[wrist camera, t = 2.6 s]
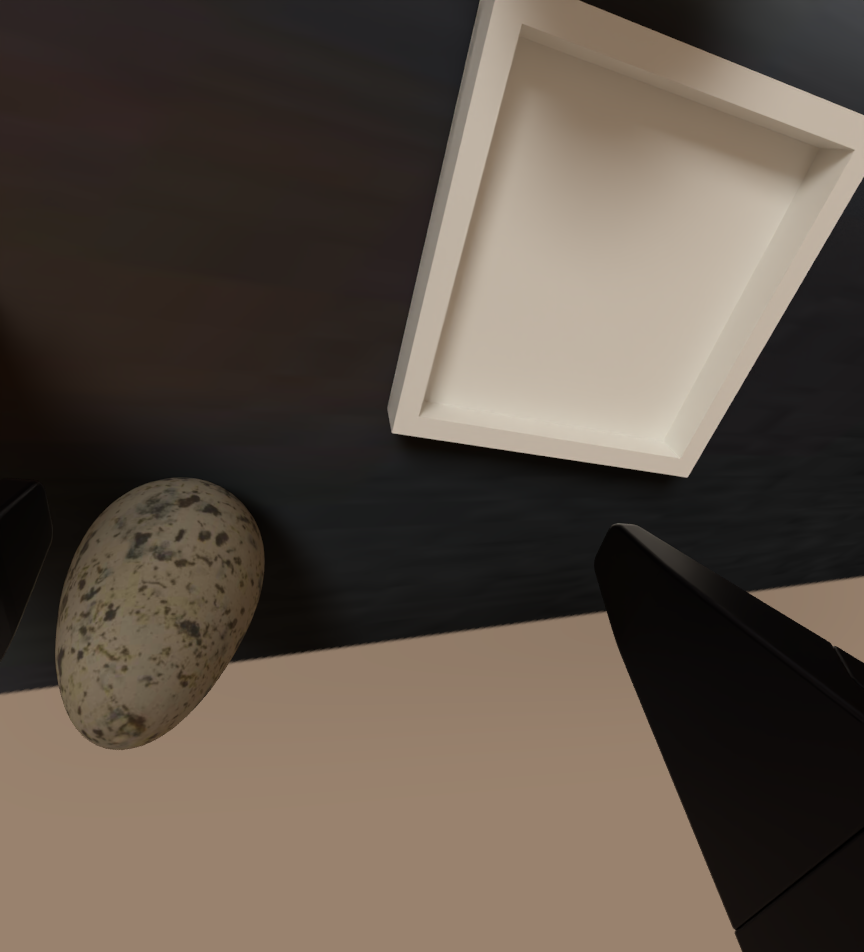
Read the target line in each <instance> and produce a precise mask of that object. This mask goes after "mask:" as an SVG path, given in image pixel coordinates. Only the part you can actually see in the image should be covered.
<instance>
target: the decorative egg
mask: <svg viewBox="0 0 864 952" xmlns="http://www.w3.org/2000/svg"><path fill="white" fill-rule="evenodd" d="M264 561H265V559H264V548H263V542H262V538H261V534H260V531H259V529H258V526H257V524H256V522H255V520H254V518H253V517H252V515H251V513H250V512H249V511H248V509H247V508H246V507H245V506H244V504H243V503H242V502H241V501H240V500H239V499H238V498H236V497H235V496H234V495H233V494H232V493H230V492H229V491H227V490H225V489H224V488H222V487H220V486H218V485H216V484H214V483H211V482H208V481H205V480H200V479H195V478H184V477H181V478H166V479H161V480H157V481H153V482H149V483H147V484H144V485H141V486H139V487H137V488H135V489H133V490H131V491H129V492H127V493H126V494H124V495H123V496H121V497H120V498H118V499H117V500H116V501H114V502H113V503H112V504H111V505H110V506H108V507H107V508H106V509H105V510H104V511H103V512H102V513H101V514H100V515H99V517H98V518H97V519H96V520H95V521H94V523H93V524H92V525H91V527H90V528H89V530H88V531H87V533H86V534H85V536H84V537H83V539H82V541H81V543H80V545H79V546H78V548H77V551H76V553H75V555H74V557H73V560H72V563H71V565H70V568H69V570H68V573H67V576H66V579H65V583H64V586H63V590H62V595H61V600H60V605H59V612H58V620H57V631H56V647H55V658H56V672H57V678H58V683H59V689H60V693H61V697H62V700H63V703H64V707H65V709H66V711H67V713H68V715H69V718H70V720H71V721H72V723H73V724H74V726H75V727H76V729H77V730H78V731H79V732H80V733H81V734H82V735H83V736H84V737H85V738H86V739H87V740H89V741H90V742H92V743H94V744H96V745H97V746H100V747H103V748H106V749H115V750H124V749H131V748H135V747H139V746H143V745H145V744H147V743H150V742H152V741H154V740H156V739H157V738H159V737H161V736H163V735H164V734H165V733H167V732H168V731H170V730H171V729H173V728H174V727H175V726H176V725H177V724H179V722H181V721H182V720H183V719H184V718H185V717H186V716H187V715H188V714H189V713H190V712H191V711H192V710H193V709H194V708H195V707H196V706H197V705H198V704H199V703H200V702H201V700H202V699H203V698H204V697H205V696H206V695H207V693H208V692H209V691H210V690H211V688H212V687H213V686H214V684H215V683H216V681H217V680H218V679H219V677H220V676H221V674H222V673H223V671H224V670H225V668H226V667H227V665H228V663H229V662H230V660H231V659H232V657H233V656H234V654H235V652H236V650H237V648H238V647H239V645H240V643H241V641H242V639H243V637H244V635H245V633H246V631H247V629H248V627H249V625H250V623H251V620H252V618H253V615H254V612H255V610H256V607H257V603H258V600H259V597H260V593H261V588H262V584H263V577H264Z"/></svg>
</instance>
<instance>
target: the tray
mask: <svg viewBox="0 0 864 952" xmlns="http://www.w3.org/2000/svg"><path fill="white" fill-rule="evenodd" d="M863 177H864V115H861V114H859V113H856V112H854V111H852V110H849V109H847V108H844V107H842V106H839V105H837V104H834V103H832V102H829V101H827V100H824V99H822V98H819V97H817V96H814V95H812V94H809V93H807V92H805V91H802V90H800V89H797V88H795V87H792V86H790V85H787V84H785V83H782V82H780V81H777V80H775V79H772V78H770V77H767V76H765V75H762V74H760V73H757V72H755V71H753V70H750V69H748V68H745V67H743V66H740V65H738V64H735V63H733V62H730V61H728V60H725V59H723V58H720V57H718V56H715V55H713V54H710V53H708V52H706V51H703V50H701V49H698V48H696V47H693V46H691V45H688V44H686V43H683V42H681V41H678V40H676V39H673V38H671V37H668V36H666V35H663V34H661V33H659V32H656V31H654V30H651V29H649V28H646V27H644V26H641V25H639V24H636V23H634V22H631V21H629V20H626V19H624V18H621V17H619V16H616V15H614V14H611V13H609V12H607V11H604V10H602V9H599V8H597V7H594V6H592V5H589V4H587V3H584V2H582V1H579V0H480V2H479V6H478V11H477V15H476V19H475V24H474V28H473V33H472V37H471V41H470V46H469V50H468V55H467V59H466V64H465V68H464V72H463V77H462V81H461V86H460V90H459V94H458V99H457V103H456V108H455V112H454V116H453V121H452V125H451V130H450V134H449V138H448V143H447V147H446V152H445V156H444V160H443V165H442V169H441V174H440V178H439V182H438V187H437V191H436V196H435V200H434V204H433V209H432V213H431V218H430V222H429V226H428V231H427V235H426V240H425V244H424V248H423V253H422V257H421V262H420V266H419V270H418V275H417V279H416V284H415V288H414V293H413V297H412V301H411V306H410V310H409V315H408V319H407V323H406V328H405V332H404V337H403V341H402V345H401V350H400V354H399V359H398V363H397V367H396V372H395V376H394V381H393V385H392V389H391V394H390V398H389V403H388V407H387V410H388V415H389V420H390V426H391V431H392V433H395V434H402V435H408V436H415V437H422V438H428V439H435V440H442V441H448V442H455V443H461V444H468V445H475V446H481V447H488V448H495V449H501V450H508V451H515V452H521V453H528V454H535V455H541V456H548V457H555V458H561V459H568V460H575V461H581V462H588V463H595V464H601V465H608V466H614V467H621V468H628V469H634V470H641V471H648V472H654V473H661V474H668V475H674V476H681V477H688V476H689V474H690V472H691V471H692V469H693V467H694V465H695V464H696V462H697V460H698V459H699V457H700V455H701V453H702V452H703V450H704V448H705V447H706V445H707V443H708V442H709V440H710V438H711V436H712V435H713V433H714V431H715V430H716V428H717V426H718V424H719V423H720V421H721V419H722V418H723V416H724V414H725V412H726V411H727V409H728V407H729V406H730V404H731V402H732V401H733V399H734V397H735V395H736V394H737V392H738V390H739V389H740V387H741V385H742V383H743V382H744V380H745V378H746V377H747V375H748V373H749V371H750V370H751V368H752V366H753V365H754V363H755V361H756V360H757V358H758V356H759V354H760V353H761V351H762V349H763V348H764V346H765V344H766V342H767V341H768V339H769V337H770V336H771V334H772V332H773V330H774V329H775V327H776V325H777V324H778V322H779V320H780V319H781V317H782V315H783V313H784V312H785V310H786V308H787V307H788V305H789V303H790V301H791V300H792V298H793V296H794V295H795V293H796V291H797V289H798V288H799V286H800V284H801V283H802V281H803V279H804V278H805V276H806V274H807V272H808V271H809V269H810V267H811V266H812V264H813V262H814V260H815V259H816V257H817V255H818V254H819V252H820V250H821V248H822V247H823V245H824V243H825V242H826V240H827V238H828V237H829V235H830V233H831V231H832V230H833V228H834V226H835V225H836V223H837V221H838V219H839V218H840V216H841V214H842V213H843V211H844V209H845V208H846V206H847V204H848V202H849V201H850V199H851V197H852V196H853V194H854V192H855V190H856V189H857V187H858V185H859V184H860V182H861V180H862V178H863Z"/></svg>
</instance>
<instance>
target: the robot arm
mask: <svg viewBox="0 0 864 952" xmlns="http://www.w3.org/2000/svg"><path fill="white" fill-rule="evenodd" d="M52 536H53V527H52V521H51V516H50V511H49V506H48V501H47V496H46V491H45V488H44V486H43V484H42V483H40V482H39V481H36V480H26V479H12V478H7V479H2V480H0V662H1V660H2V659H3V657H4V655H5V653H6V651H7V649H8V647H9V645H10V643H11V641H12V639H13V637H14V635H15V632H16V630H17V628H18V625H19V623H20V621H21V618H22V616H23V613H24V611H25V608H26V606H27V603H28V600H29V598H30V595H31V593H32V590H33V588H34V585H35V583H36V580H37V578H38V575H39V573H40V570H41V568H42V565H43V563H44V560H45V557H46V555H47V552H48V550H49V547H50V545H51V541H52ZM594 568H595V573H596V577H597V580H598V583H599V587H600V590H601V594H602V597H603V600H604V604H605V607H606V610H607V614H608V617H609V620H610V624H611V627H612V630H613V634H614V637H615V640H616V643H617V646H618V648H619V651H620V654H621V656H622V659H623V661H624V663H625V665H626V668H627V671H628V673H629V676H630V678H631V681H632V683H633V686H634V688H635V690H636V693H637V695H638V697H639V700H640V703H641V705H642V708H643V710H644V712H645V715H646V717H647V720H648V722H649V725H650V727H651V729H652V732H653V734H654V737H655V739H656V742H657V744H658V747H659V749H660V751H661V754H662V756H663V759H664V761H665V764H666V766H667V768H668V771H669V773H670V776H671V778H672V780H673V783H674V786H675V788H676V790H677V793H678V795H679V798H680V800H681V802H682V805H683V807H684V810H685V812H686V814H687V817H688V820H689V822H690V824H691V827H692V829H693V832H694V834H695V837H696V839H697V841H698V844H699V846H700V849H701V851H702V854H703V856H704V859H705V861H706V863H707V866H708V868H709V871H710V873H711V876H712V878H713V880H714V883H715V885H716V888H717V890H718V893H719V895H720V898H721V900H722V902H723V905H724V907H725V910H726V912H727V915H728V917H729V920H730V922H731V924H732V927H733V928H734V929H735V930H736V931H735V935H736V938H737V940H738V943H739V945H740V947H741V950H742V952H864V663H863V662H861V661H859V660H858V659H856V658H854V657H853V656H851V655H850V654H848V653H846V652H845V651H843V650H842V649H840V648H838V647H836V646H832V645H831V643H830V642H828V641H826V640H825V639H823V638H821V637H820V636H818V635H817V634H815V633H813V632H812V631H810V630H808V629H807V628H805V627H803V626H802V625H800V624H798V623H797V622H795V621H794V620H792V619H790V618H788V617H787V616H785V615H784V614H782V613H780V612H779V611H777V610H775V609H774V608H772V607H770V606H769V605H767V604H766V603H763V602H762V601H761V600H759V599H757V598H756V597H754V596H752V595H751V594H749V593H747V592H746V591H744V590H742V589H741V588H739V587H738V586H736V585H734V584H733V583H731V582H729V581H728V580H726V579H724V578H723V577H721V576H719V575H718V574H716V573H714V572H713V571H711V570H710V569H708V568H706V567H705V566H703V565H701V564H700V563H698V562H696V561H695V560H693V559H691V558H690V557H688V556H686V555H685V554H683V553H681V552H680V551H678V550H677V549H675V548H673V547H672V546H670V545H668V544H667V543H665V542H663V541H662V540H660V539H658V538H657V537H655V536H653V535H652V534H650V533H649V532H647V531H645V530H644V529H642V528H640V527H639V526H637V525H633V524H619V523H617V524H614V525H612V526H611V527H610V528H609V530H608V532H607V534H606V536H605V538H604V540H603V542H602V545H601V547H600V549H599V551H598V553H597V555H596V557H595V562H594Z"/></svg>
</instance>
